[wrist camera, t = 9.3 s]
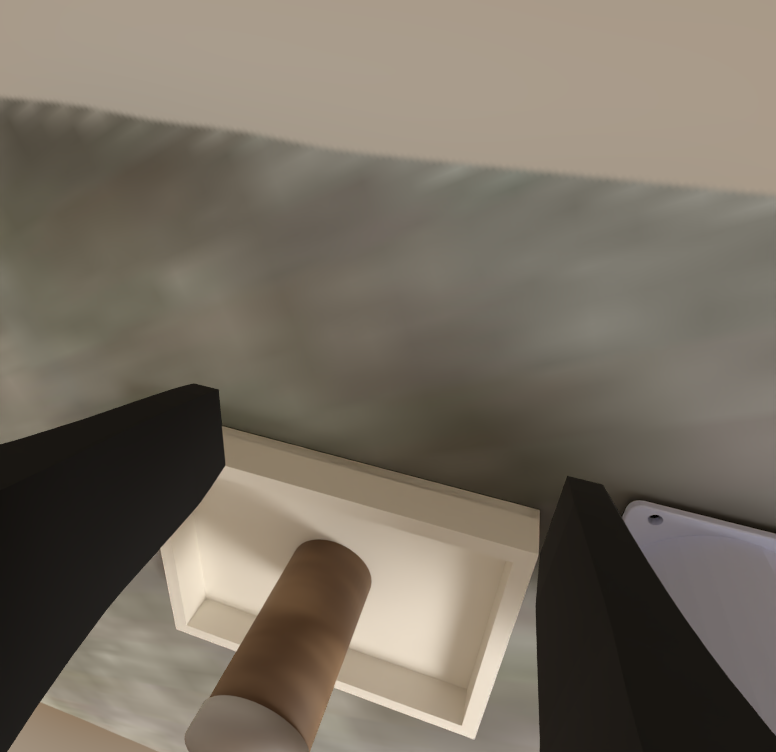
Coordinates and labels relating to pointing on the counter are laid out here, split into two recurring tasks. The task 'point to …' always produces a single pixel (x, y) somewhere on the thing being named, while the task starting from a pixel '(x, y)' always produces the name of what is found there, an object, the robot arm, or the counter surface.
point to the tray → (385, 563)
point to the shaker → (287, 657)
